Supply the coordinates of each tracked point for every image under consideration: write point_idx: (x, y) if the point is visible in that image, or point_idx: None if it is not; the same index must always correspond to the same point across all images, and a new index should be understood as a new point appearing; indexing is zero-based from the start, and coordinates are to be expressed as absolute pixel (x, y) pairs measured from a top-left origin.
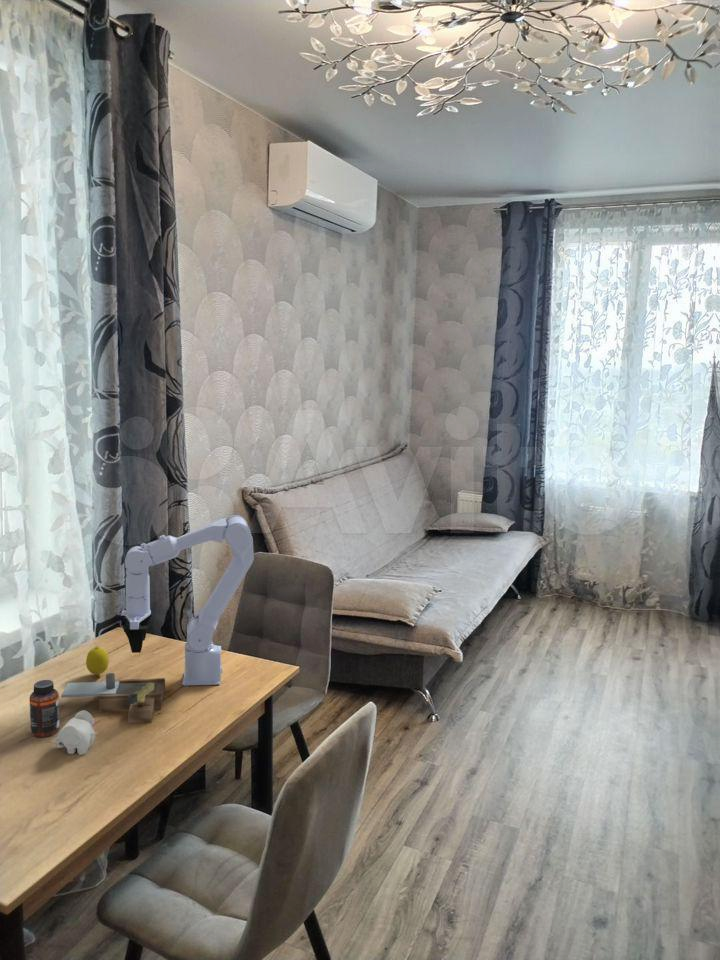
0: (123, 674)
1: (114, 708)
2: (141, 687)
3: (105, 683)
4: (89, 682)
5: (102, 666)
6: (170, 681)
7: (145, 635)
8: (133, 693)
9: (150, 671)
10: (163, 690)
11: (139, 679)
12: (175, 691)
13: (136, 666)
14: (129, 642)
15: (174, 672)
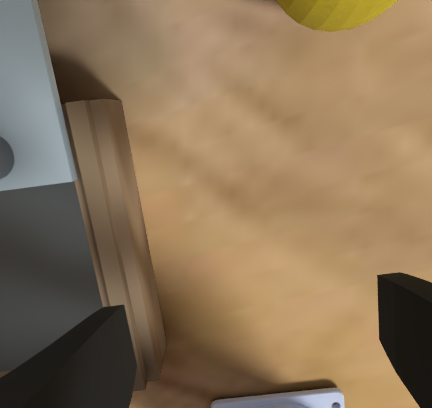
0: (330, 120)
1: None
2: (55, 298)
3: (32, 111)
4: (29, 5)
5: (284, 6)
6: (256, 345)
7: (404, 381)
8: None
9: (362, 241)
10: None
11: (115, 278)
12: (164, 381)
13: (426, 160)
14: (26, 361)
15: (348, 343)
